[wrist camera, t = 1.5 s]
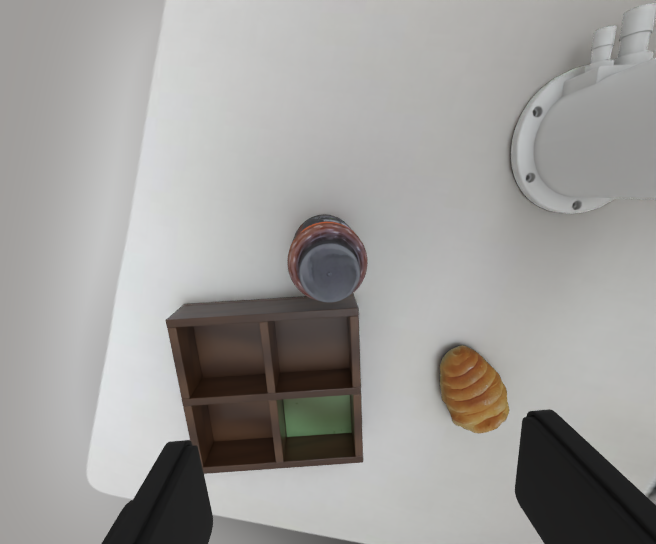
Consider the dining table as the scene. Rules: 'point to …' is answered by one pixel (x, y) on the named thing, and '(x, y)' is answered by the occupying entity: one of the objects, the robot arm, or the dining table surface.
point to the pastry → (472, 391)
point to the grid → (270, 382)
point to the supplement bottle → (326, 259)
